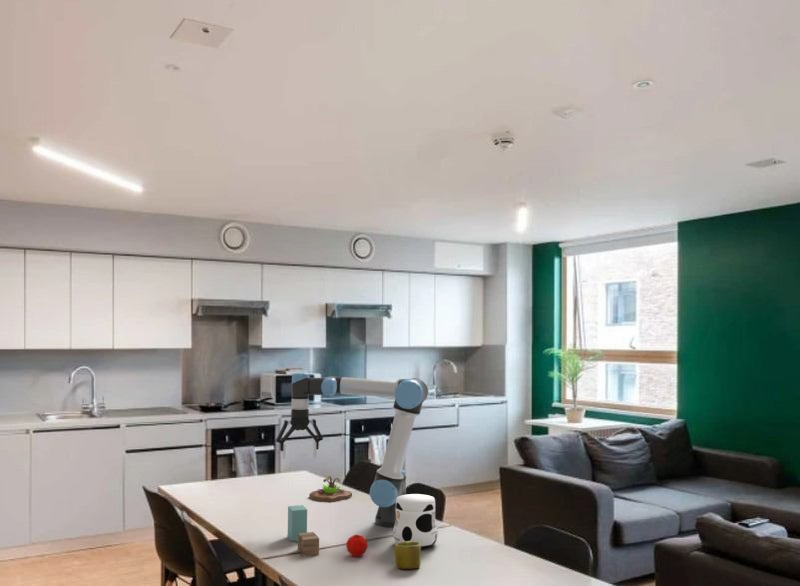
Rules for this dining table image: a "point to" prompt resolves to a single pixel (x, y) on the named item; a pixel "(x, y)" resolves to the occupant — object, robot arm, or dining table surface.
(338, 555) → the dining table surface
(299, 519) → the teal pillar
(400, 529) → the milk container
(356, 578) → the dining table surface
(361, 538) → the apple
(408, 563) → the mug
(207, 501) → the dining table surface
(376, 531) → the dining table surface
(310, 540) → the brown block
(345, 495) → the plant
